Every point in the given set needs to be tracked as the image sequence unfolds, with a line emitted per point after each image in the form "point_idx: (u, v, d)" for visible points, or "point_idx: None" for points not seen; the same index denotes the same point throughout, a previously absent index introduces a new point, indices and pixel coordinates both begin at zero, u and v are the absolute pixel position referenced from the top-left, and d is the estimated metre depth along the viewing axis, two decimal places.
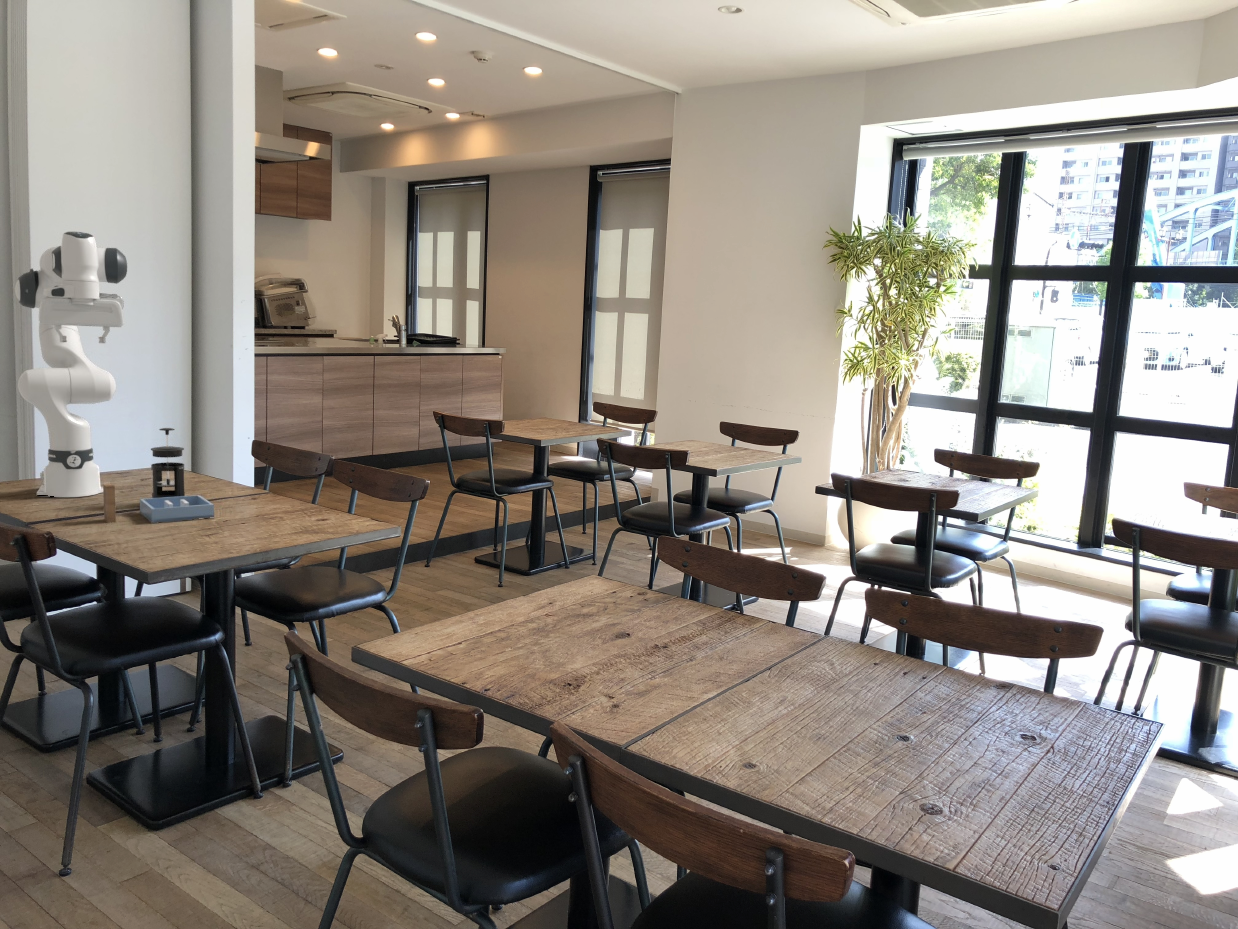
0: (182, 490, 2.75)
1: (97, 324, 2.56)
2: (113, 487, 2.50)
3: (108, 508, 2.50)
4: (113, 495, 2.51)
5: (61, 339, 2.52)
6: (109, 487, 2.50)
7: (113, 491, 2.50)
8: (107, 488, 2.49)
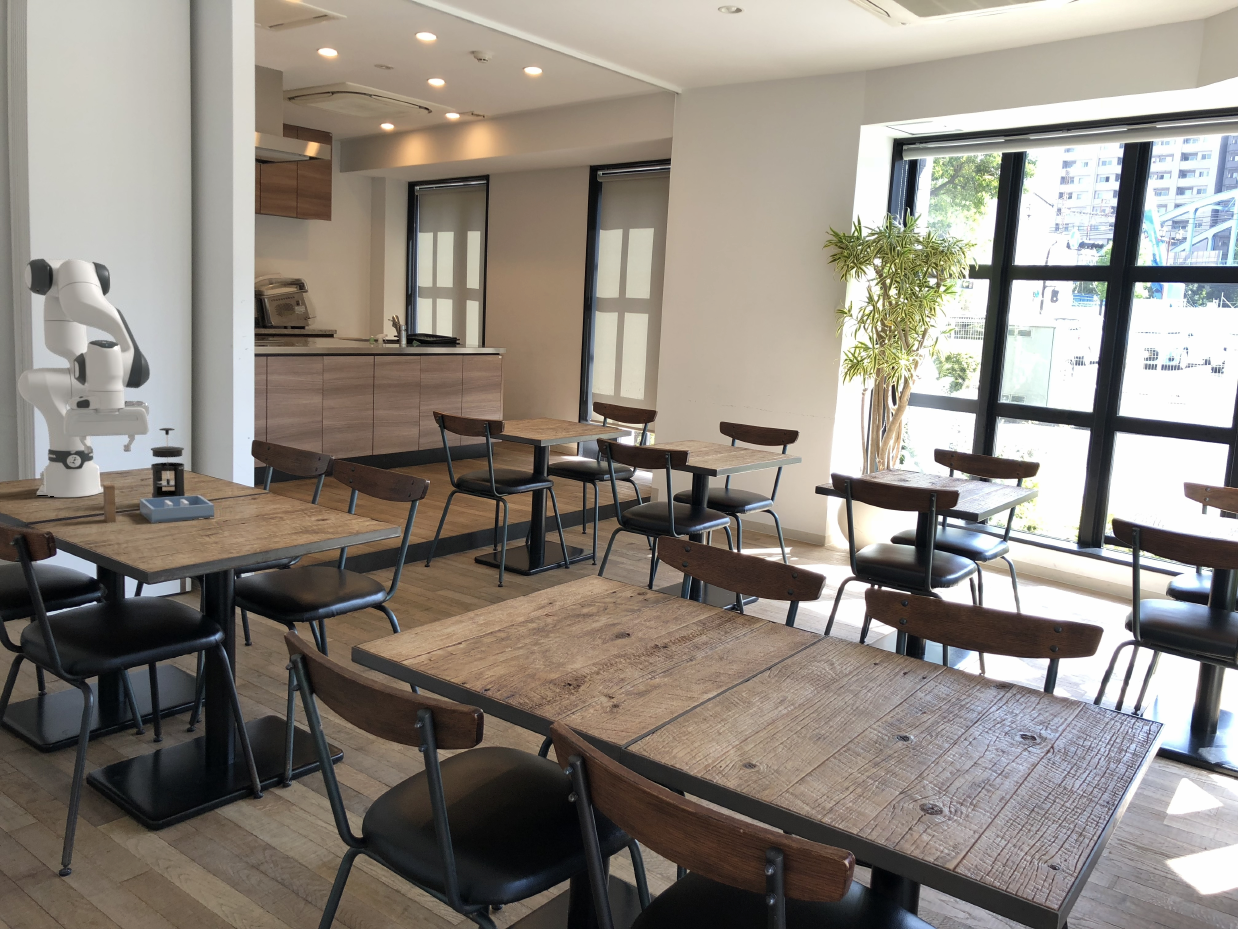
0: (182, 490, 2.75)
1: (122, 433, 2.50)
2: (113, 487, 2.50)
3: (108, 508, 2.50)
4: (113, 495, 2.51)
5: (86, 450, 2.46)
6: (109, 487, 2.50)
7: (113, 491, 2.50)
8: (107, 488, 2.49)
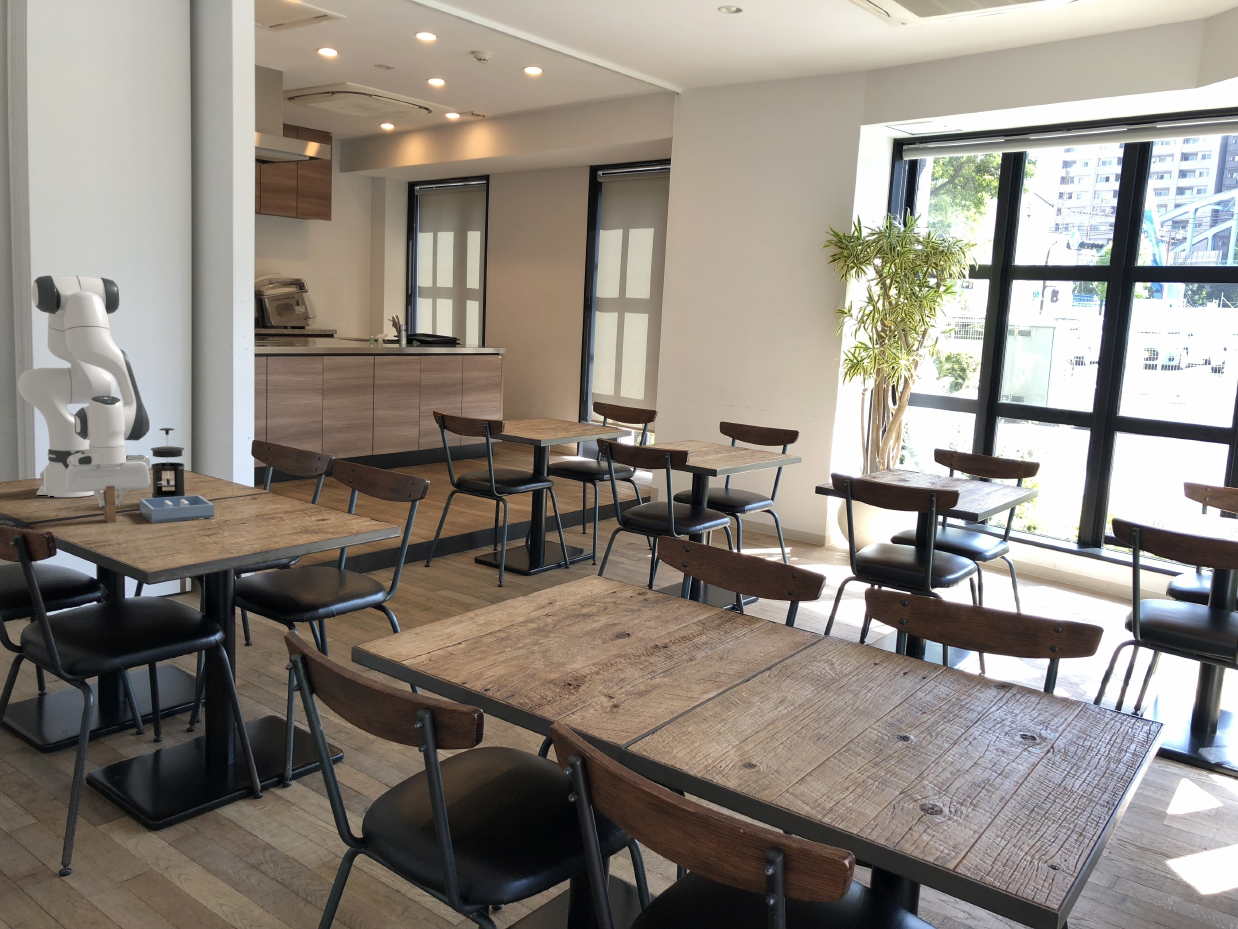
0: (182, 490, 2.75)
1: (124, 487, 2.53)
2: (113, 487, 2.50)
3: (108, 508, 2.50)
4: (113, 495, 2.51)
5: (100, 504, 2.51)
6: (109, 487, 2.50)
7: (113, 491, 2.50)
8: (107, 488, 2.49)
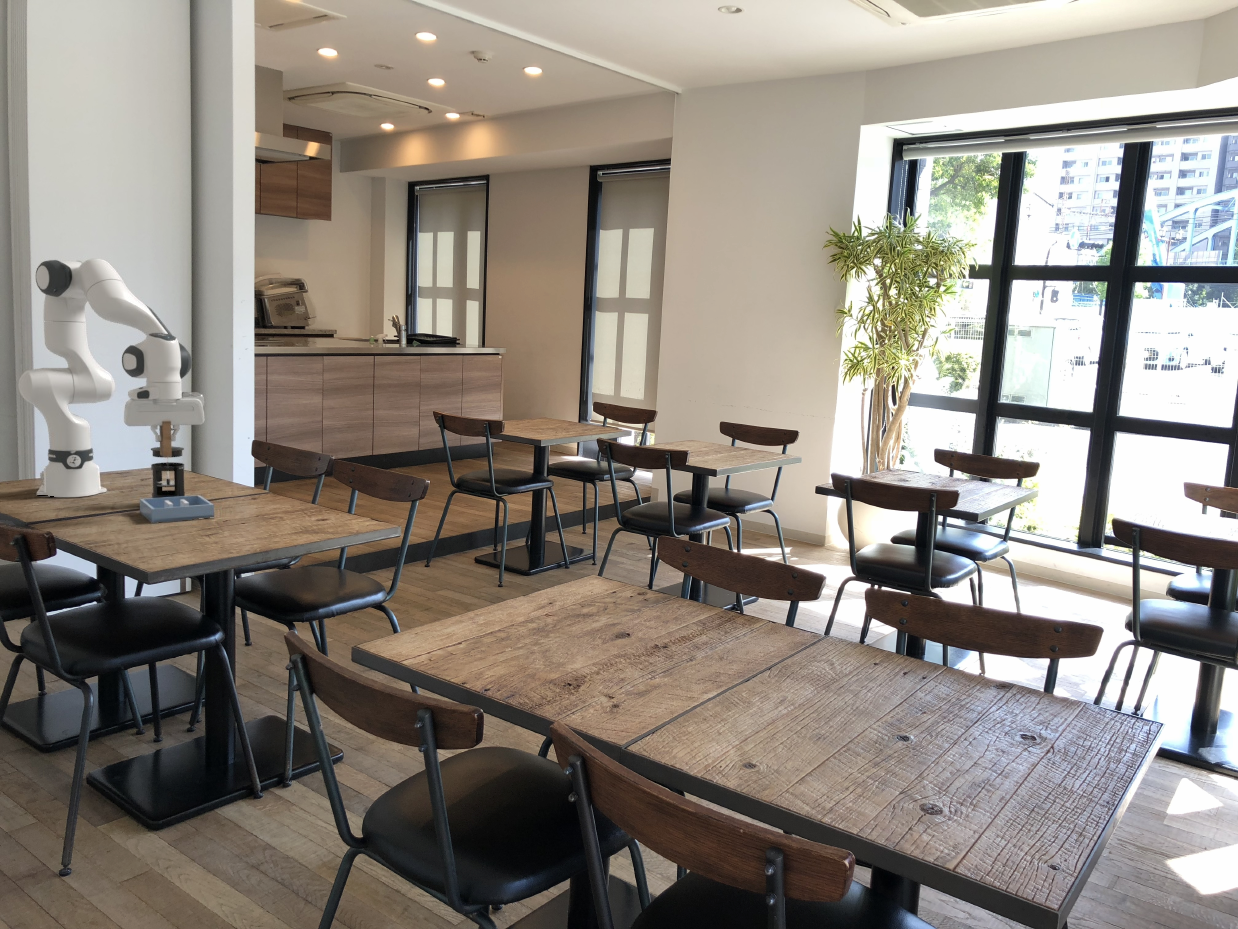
0: (182, 490, 2.75)
1: (179, 423, 2.59)
2: (169, 422, 2.56)
3: (164, 443, 2.56)
4: (169, 430, 2.57)
5: (157, 439, 2.57)
6: (165, 422, 2.56)
7: (169, 426, 2.56)
8: (164, 423, 2.56)
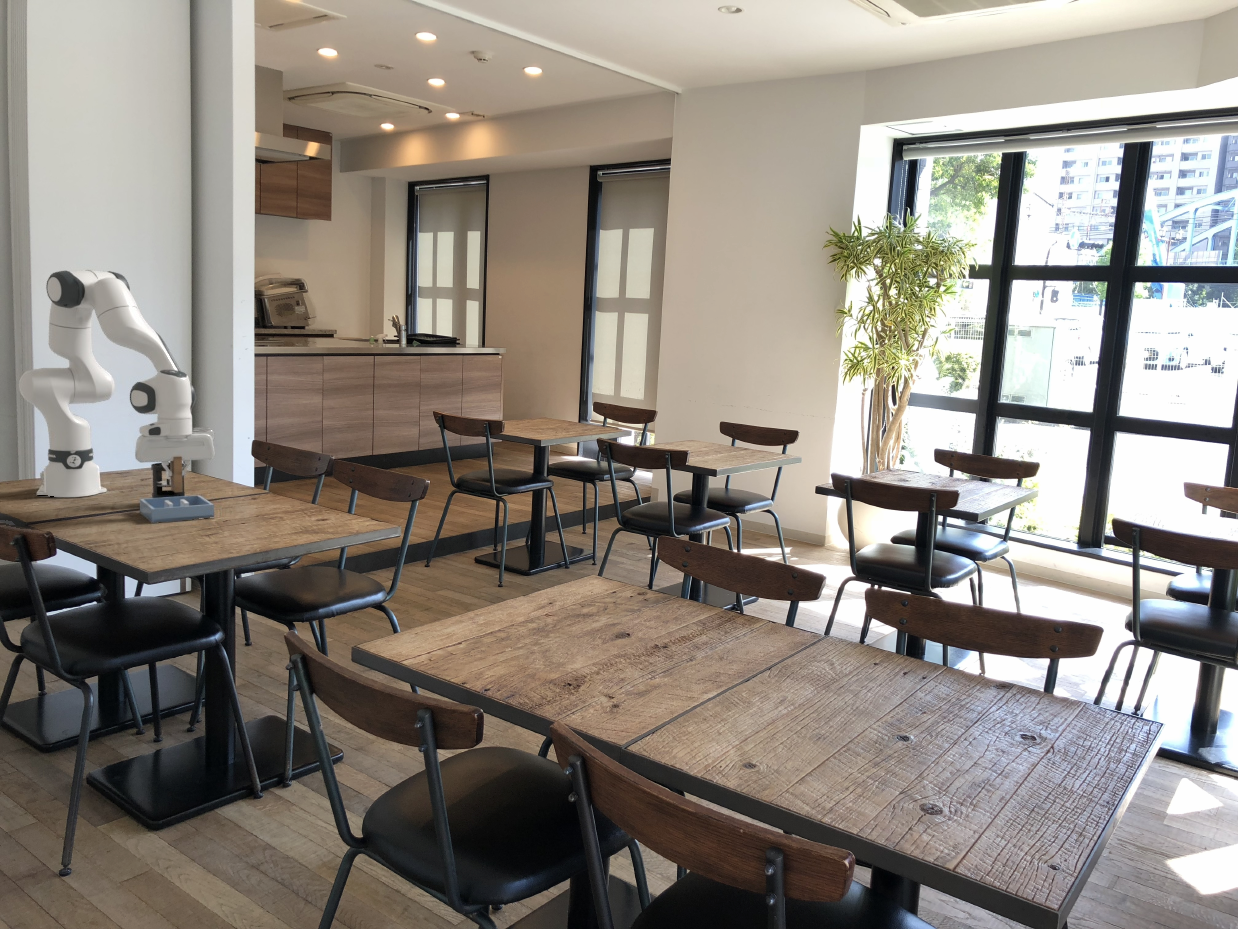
0: None
1: (190, 458, 2.62)
2: (180, 458, 2.59)
3: (176, 478, 2.59)
4: (180, 465, 2.60)
5: (168, 474, 2.60)
6: (177, 458, 2.59)
7: (180, 461, 2.60)
8: (175, 458, 2.59)
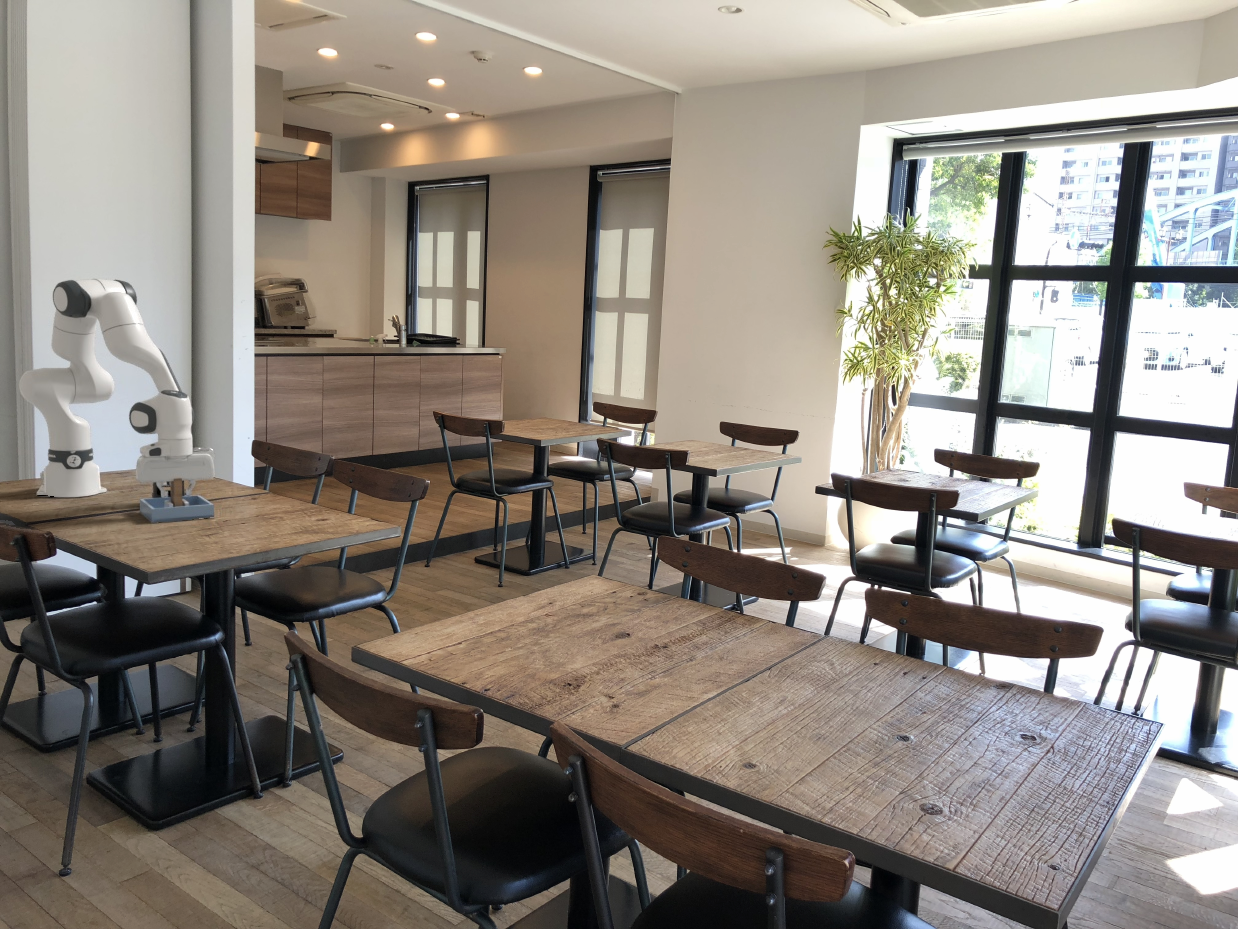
0: (182, 490, 2.75)
1: (190, 478, 2.63)
2: (180, 479, 2.61)
3: (176, 500, 2.61)
4: (180, 487, 2.61)
5: (163, 495, 2.60)
6: (177, 479, 2.60)
7: (180, 483, 2.61)
8: (175, 480, 2.60)
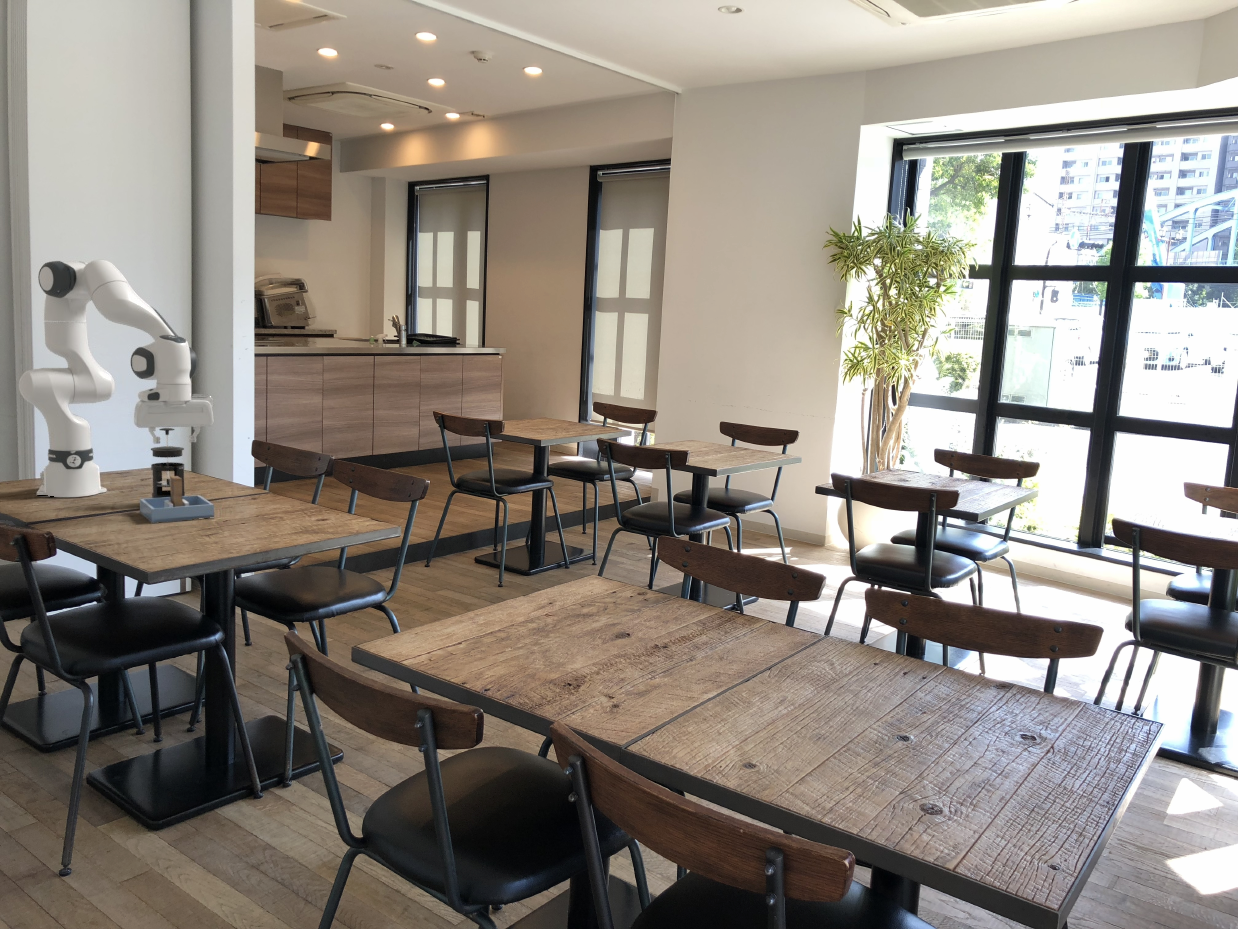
0: (182, 490, 2.75)
1: (189, 424, 2.61)
2: (180, 479, 2.61)
3: (176, 500, 2.61)
4: (180, 487, 2.61)
5: (155, 441, 2.57)
6: (177, 479, 2.60)
7: (180, 483, 2.61)
8: (175, 480, 2.60)
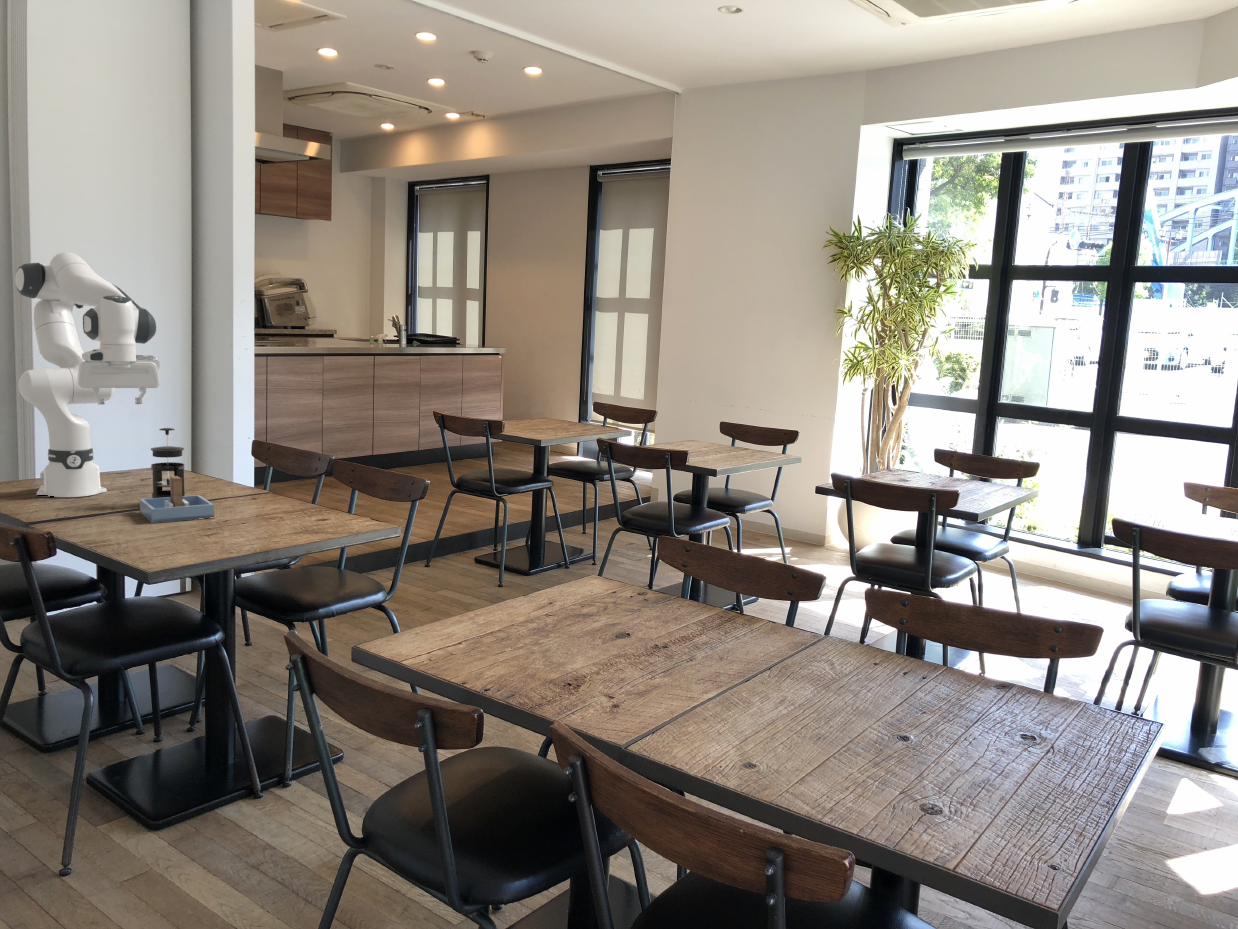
0: (182, 490, 2.75)
1: (134, 386, 2.60)
2: (180, 479, 2.61)
3: (176, 500, 2.61)
4: (180, 487, 2.61)
5: (99, 401, 2.56)
6: (177, 479, 2.60)
7: (180, 483, 2.61)
8: (175, 480, 2.60)
